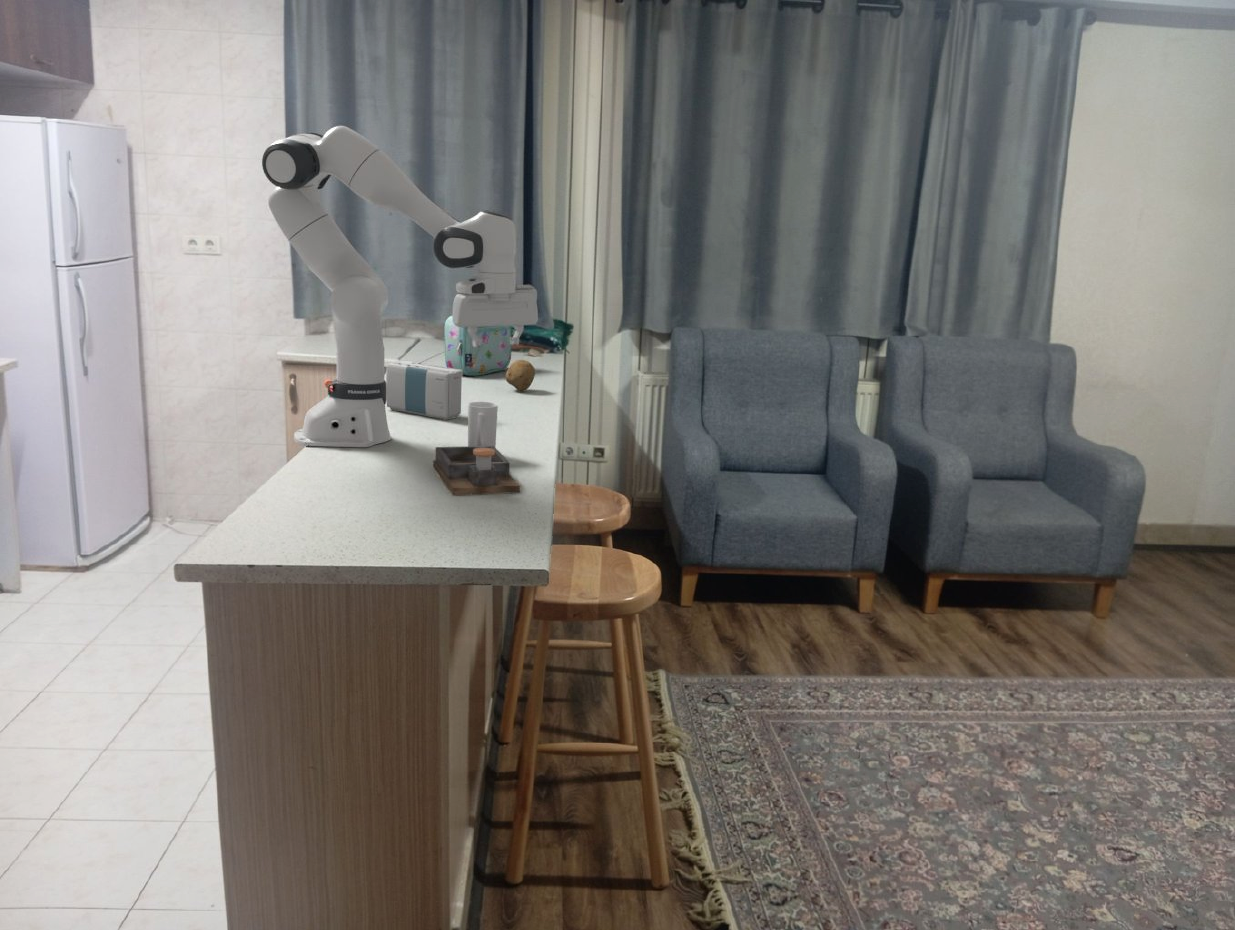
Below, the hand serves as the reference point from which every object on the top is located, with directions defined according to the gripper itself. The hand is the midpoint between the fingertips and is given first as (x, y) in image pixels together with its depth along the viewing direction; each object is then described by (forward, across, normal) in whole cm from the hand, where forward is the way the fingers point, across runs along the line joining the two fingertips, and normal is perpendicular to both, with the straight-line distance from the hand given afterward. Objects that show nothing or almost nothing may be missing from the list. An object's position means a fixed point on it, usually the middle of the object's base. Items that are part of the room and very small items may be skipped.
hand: (495, 345), depth 232 cm
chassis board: (+26, +14, +19) cm, 35 cm away
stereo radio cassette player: (+25, 0, -46) cm, 52 cm away
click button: (+22, +15, +26) cm, 38 cm away
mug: (+26, +4, +2) cm, 26 cm away
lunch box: (+25, -42, -102) cm, 113 cm away
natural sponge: (+25, -41, -69) cm, 84 cm away
